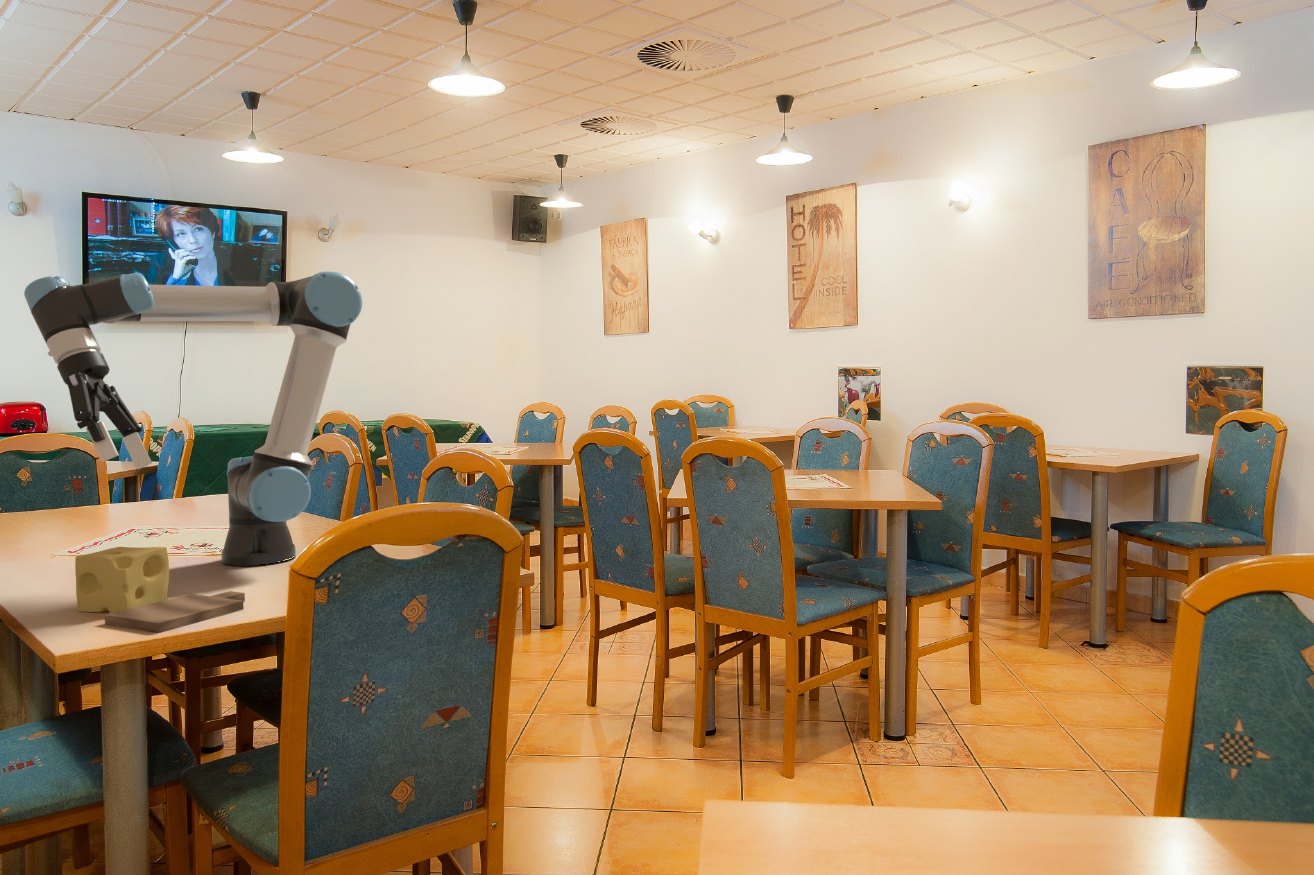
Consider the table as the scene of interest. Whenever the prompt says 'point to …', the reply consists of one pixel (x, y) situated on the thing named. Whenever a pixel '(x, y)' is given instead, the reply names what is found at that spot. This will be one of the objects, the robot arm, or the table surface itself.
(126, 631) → the table surface
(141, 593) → the cheese
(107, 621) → the board
